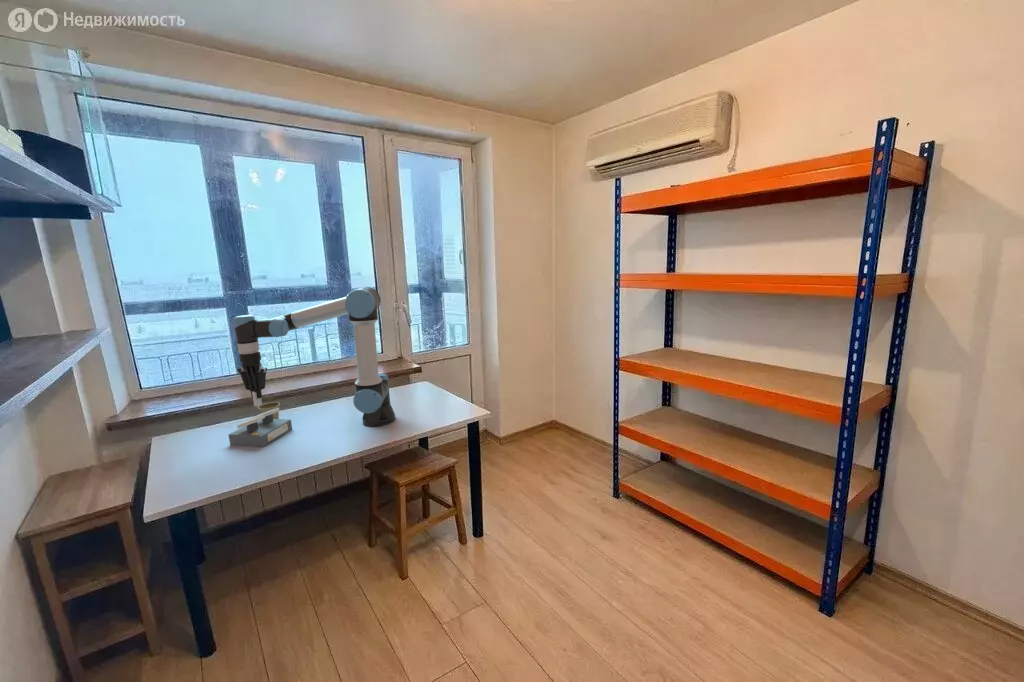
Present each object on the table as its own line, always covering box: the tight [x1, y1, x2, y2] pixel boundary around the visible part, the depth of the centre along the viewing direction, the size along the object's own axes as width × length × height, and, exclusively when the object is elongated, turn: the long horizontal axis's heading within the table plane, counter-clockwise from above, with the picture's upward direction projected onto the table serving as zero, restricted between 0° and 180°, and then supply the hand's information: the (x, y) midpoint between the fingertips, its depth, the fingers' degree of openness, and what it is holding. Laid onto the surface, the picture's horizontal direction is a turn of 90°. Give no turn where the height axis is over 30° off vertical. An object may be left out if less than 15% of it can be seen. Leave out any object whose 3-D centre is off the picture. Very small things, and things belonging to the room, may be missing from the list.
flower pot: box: [257, 401, 281, 419], centre depth 200 cm, size 9×9×9 cm
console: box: [228, 414, 293, 448], centre depth 183 cm, size 16×18×8 cm
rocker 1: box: [236, 415, 265, 430], centre depth 177 cm, size 11×4×1 cm, turn 80°
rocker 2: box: [252, 407, 281, 419], centre depth 186 cm, size 11×4×1 cm, turn 80°
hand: (258, 405), depth 177 cm, fingers closed
